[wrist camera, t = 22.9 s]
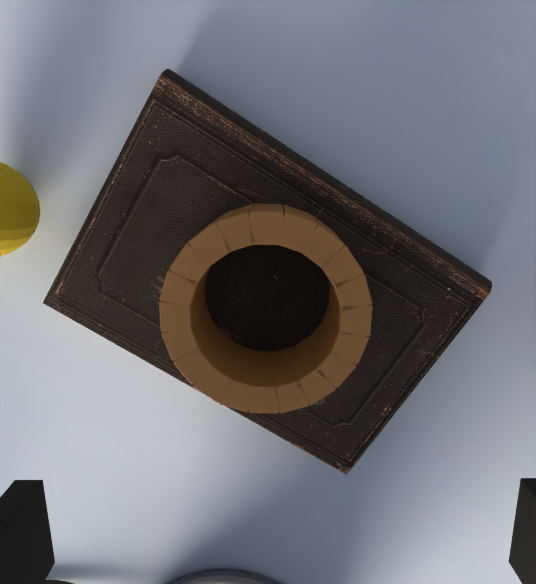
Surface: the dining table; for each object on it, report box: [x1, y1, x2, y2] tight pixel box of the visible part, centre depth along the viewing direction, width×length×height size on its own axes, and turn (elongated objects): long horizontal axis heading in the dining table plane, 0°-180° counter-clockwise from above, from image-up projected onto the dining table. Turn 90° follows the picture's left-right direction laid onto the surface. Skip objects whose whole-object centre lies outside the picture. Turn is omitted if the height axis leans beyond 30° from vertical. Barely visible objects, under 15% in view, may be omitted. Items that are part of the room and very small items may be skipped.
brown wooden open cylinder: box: [159, 204, 372, 413], centre depth 26 cm, size 11×11×5 cm
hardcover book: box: [43, 69, 492, 475], centre depth 29 cm, size 16×23×2 cm
